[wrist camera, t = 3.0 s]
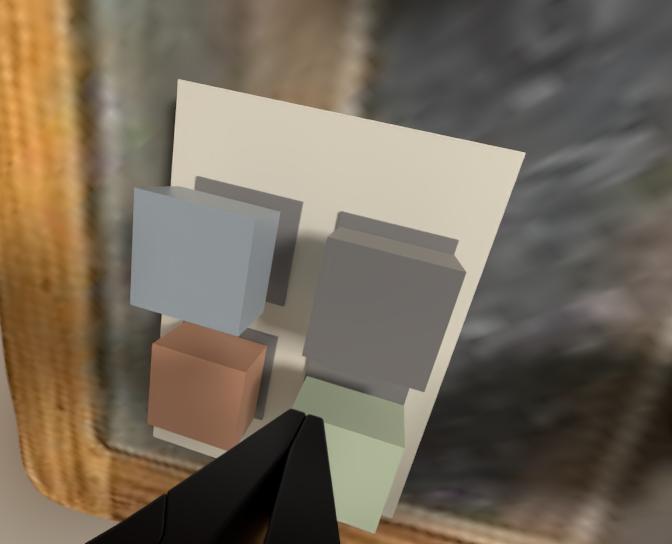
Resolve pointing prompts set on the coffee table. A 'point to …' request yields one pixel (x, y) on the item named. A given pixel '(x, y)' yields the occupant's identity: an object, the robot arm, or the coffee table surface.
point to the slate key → (201, 257)
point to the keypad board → (337, 224)
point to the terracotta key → (205, 384)
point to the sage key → (357, 447)
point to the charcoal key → (382, 307)
